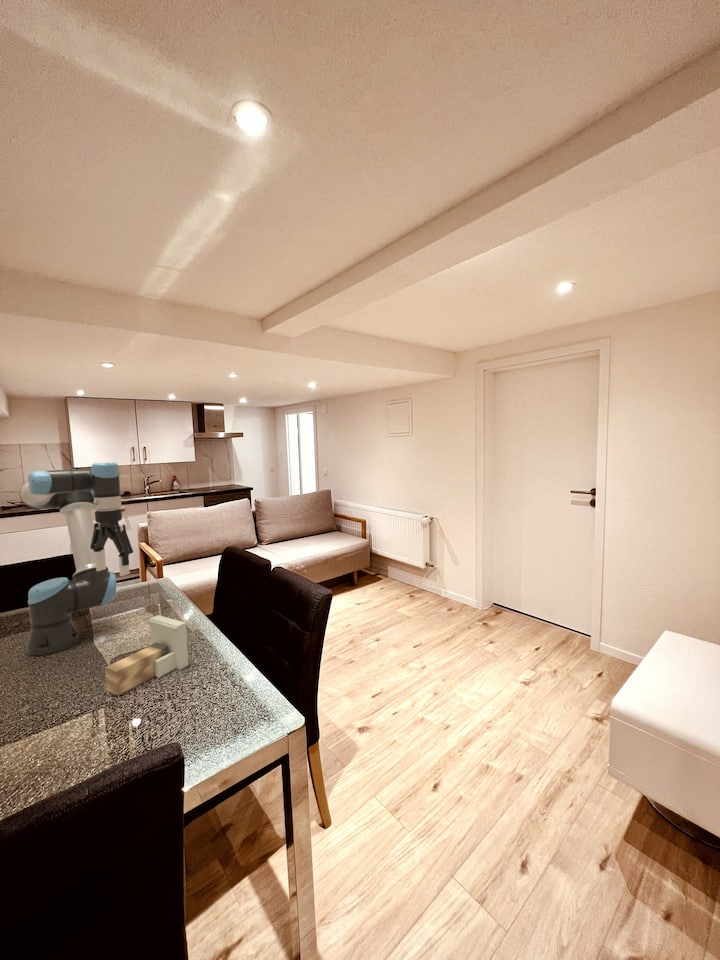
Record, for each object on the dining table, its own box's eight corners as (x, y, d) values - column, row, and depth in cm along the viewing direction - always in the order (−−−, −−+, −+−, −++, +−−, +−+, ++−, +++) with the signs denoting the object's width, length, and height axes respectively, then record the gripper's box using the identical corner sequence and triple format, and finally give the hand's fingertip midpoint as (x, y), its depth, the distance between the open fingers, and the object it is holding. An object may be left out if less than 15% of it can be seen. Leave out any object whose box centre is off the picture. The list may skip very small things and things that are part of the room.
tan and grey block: (118, 695, 113) (116, 671, 113) (106, 690, 116) (104, 666, 116) (169, 668, 127) (167, 646, 127) (157, 664, 130) (155, 642, 130)
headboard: (134, 668, 128) (131, 625, 127) (160, 655, 136) (158, 615, 135) (162, 679, 121) (160, 634, 120) (188, 665, 129) (185, 622, 128)
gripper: (75, 509, 135) (80, 571, 137) (118, 512, 123) (123, 580, 125) (98, 506, 142) (103, 565, 143) (142, 509, 130) (146, 573, 131)
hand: (112, 572), depth 134 cm, fingers open, 13 cm apart
